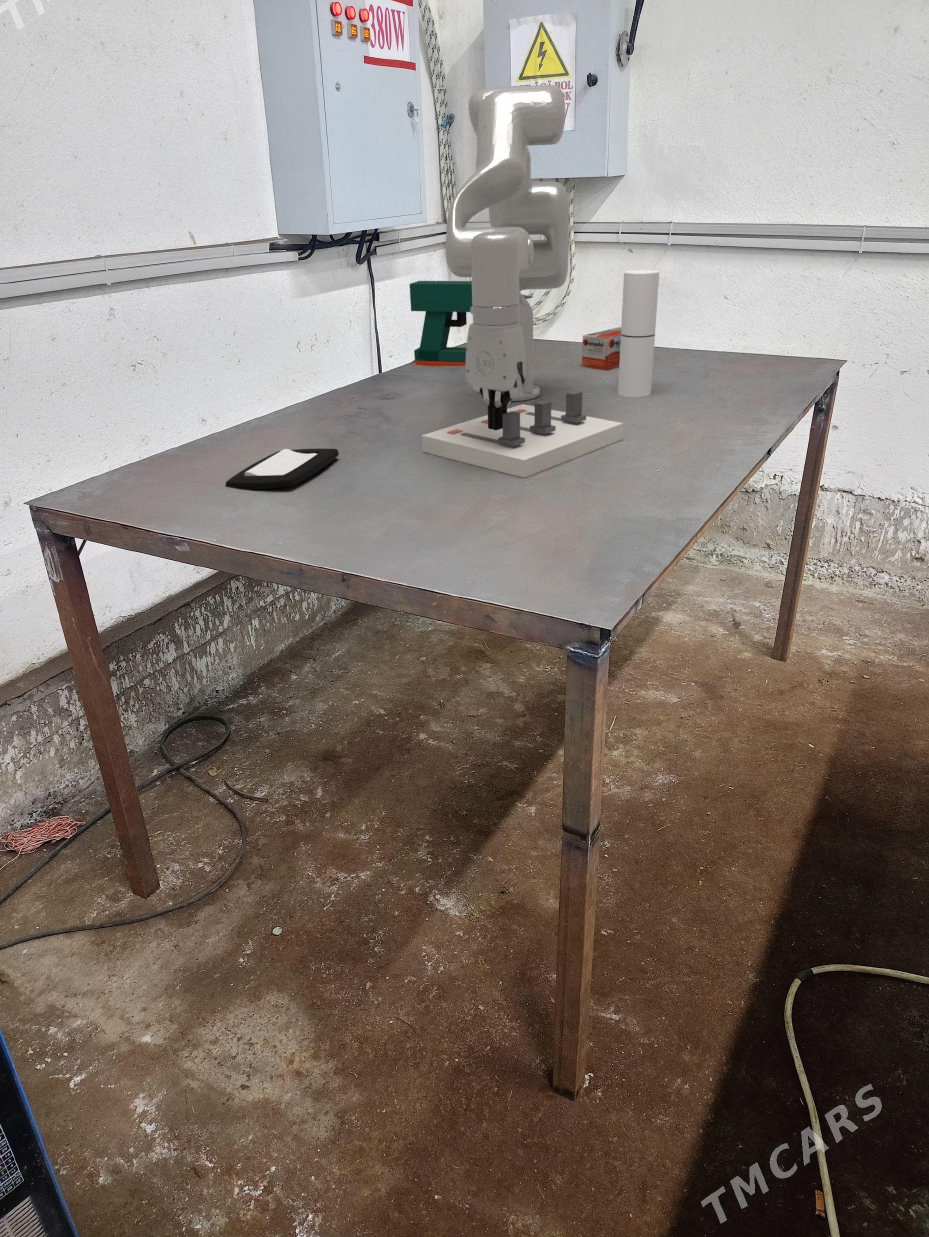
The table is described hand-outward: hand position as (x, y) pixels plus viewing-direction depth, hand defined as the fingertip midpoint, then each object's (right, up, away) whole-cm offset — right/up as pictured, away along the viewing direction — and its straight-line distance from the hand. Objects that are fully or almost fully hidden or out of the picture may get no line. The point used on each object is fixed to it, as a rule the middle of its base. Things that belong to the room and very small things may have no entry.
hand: (497, 427), depth 146 cm
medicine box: (+32, +32, +71) cm, 84 cm away
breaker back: (+14, +4, +11) cm, 18 cm away
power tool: (-3, +33, +75) cm, 82 cm away
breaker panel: (+5, -1, +9) cm, 11 cm away
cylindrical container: (+32, +17, +42) cm, 55 cm away
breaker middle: (+8, +1, +5) cm, 10 cm away
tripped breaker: (+2, -3, -1) cm, 4 cm away
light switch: (-36, -8, +1) cm, 37 cm away
